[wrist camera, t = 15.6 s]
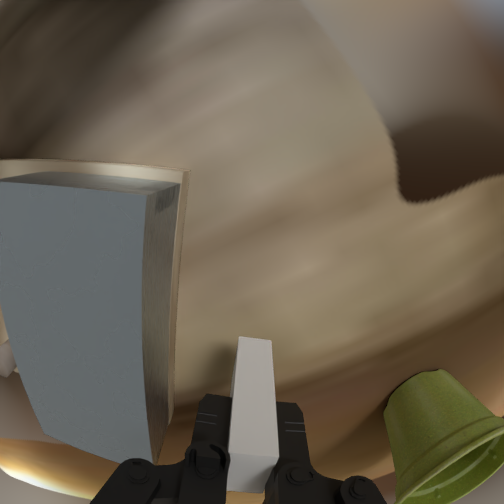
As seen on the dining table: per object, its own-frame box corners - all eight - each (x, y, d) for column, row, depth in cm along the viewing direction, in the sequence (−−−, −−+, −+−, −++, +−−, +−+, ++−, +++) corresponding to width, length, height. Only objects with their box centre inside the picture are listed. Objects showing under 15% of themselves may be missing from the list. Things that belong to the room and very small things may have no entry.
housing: (70, 393, 17) (44, 433, 13) (46, 171, 12) (-11, 181, 8) (168, 422, 17) (154, 472, 13) (180, 183, 13) (146, 195, 9)
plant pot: (444, 324, 17) (517, 407, 8) (478, 382, 19) (526, 447, 10) (338, 409, 19) (366, 511, 11) (394, 447, 21) (422, 521, 12)
